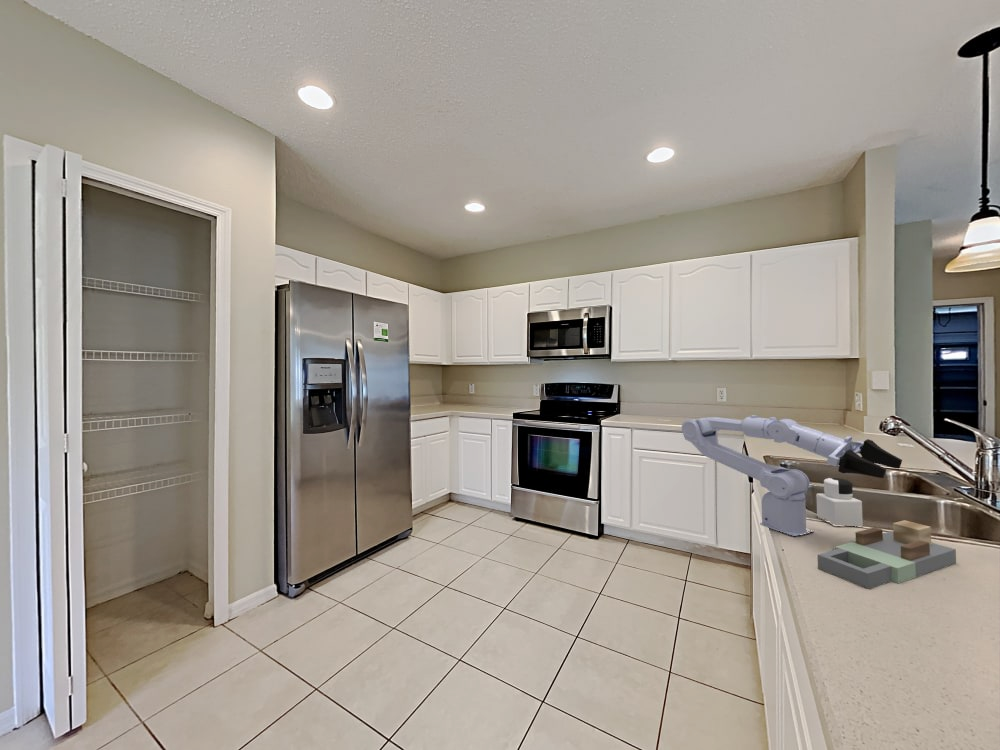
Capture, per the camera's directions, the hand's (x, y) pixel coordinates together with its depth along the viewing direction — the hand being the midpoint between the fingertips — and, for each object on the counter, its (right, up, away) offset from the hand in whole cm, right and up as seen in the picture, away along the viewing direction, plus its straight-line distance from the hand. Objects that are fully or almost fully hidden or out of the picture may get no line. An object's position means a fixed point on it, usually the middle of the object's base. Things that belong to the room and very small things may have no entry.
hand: (892, 469), depth 88 cm
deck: (-3, -21, -2) cm, 21 cm away
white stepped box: (+7, -20, +22) cm, 31 cm away
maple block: (+6, -17, +2) cm, 18 cm away
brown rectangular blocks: (-1, -17, -1) cm, 17 cm away
